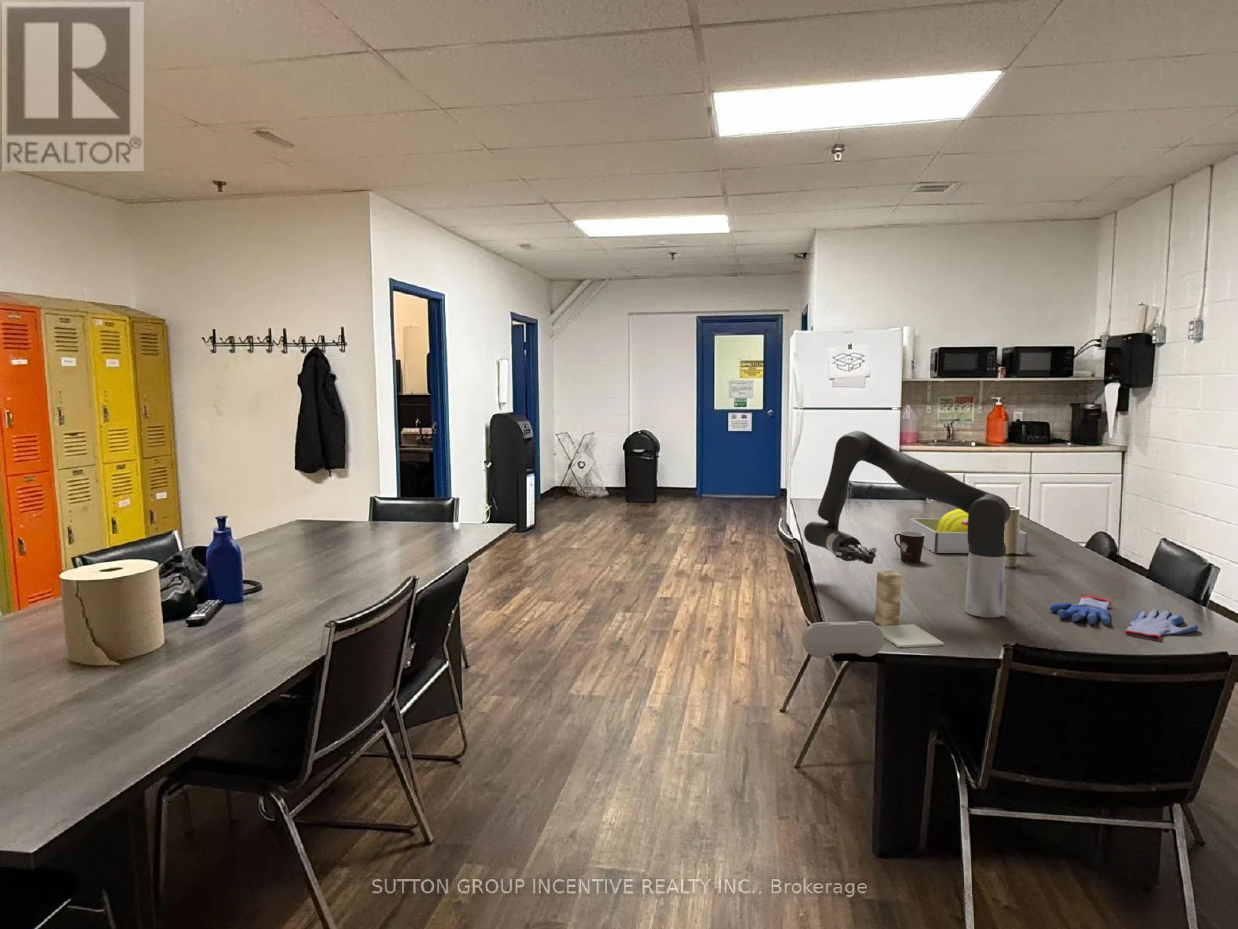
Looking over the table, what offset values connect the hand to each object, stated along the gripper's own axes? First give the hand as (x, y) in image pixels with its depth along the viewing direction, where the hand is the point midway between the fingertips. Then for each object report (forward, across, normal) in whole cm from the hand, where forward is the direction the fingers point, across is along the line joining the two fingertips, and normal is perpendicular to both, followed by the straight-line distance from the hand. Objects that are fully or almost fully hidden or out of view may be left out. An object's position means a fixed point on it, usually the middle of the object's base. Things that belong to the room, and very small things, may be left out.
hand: (870, 560), depth 207 cm
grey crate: (-72, +77, +15) cm, 107 cm away
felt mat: (+20, 0, +15) cm, 25 cm away
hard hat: (-72, +75, +15) cm, 105 cm away
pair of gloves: (+17, +65, +15) cm, 69 cm away
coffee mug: (-54, +43, +15) cm, 71 cm away
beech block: (+10, 0, +15) cm, 18 cm away
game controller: (+30, -22, +15) cm, 40 cm away
